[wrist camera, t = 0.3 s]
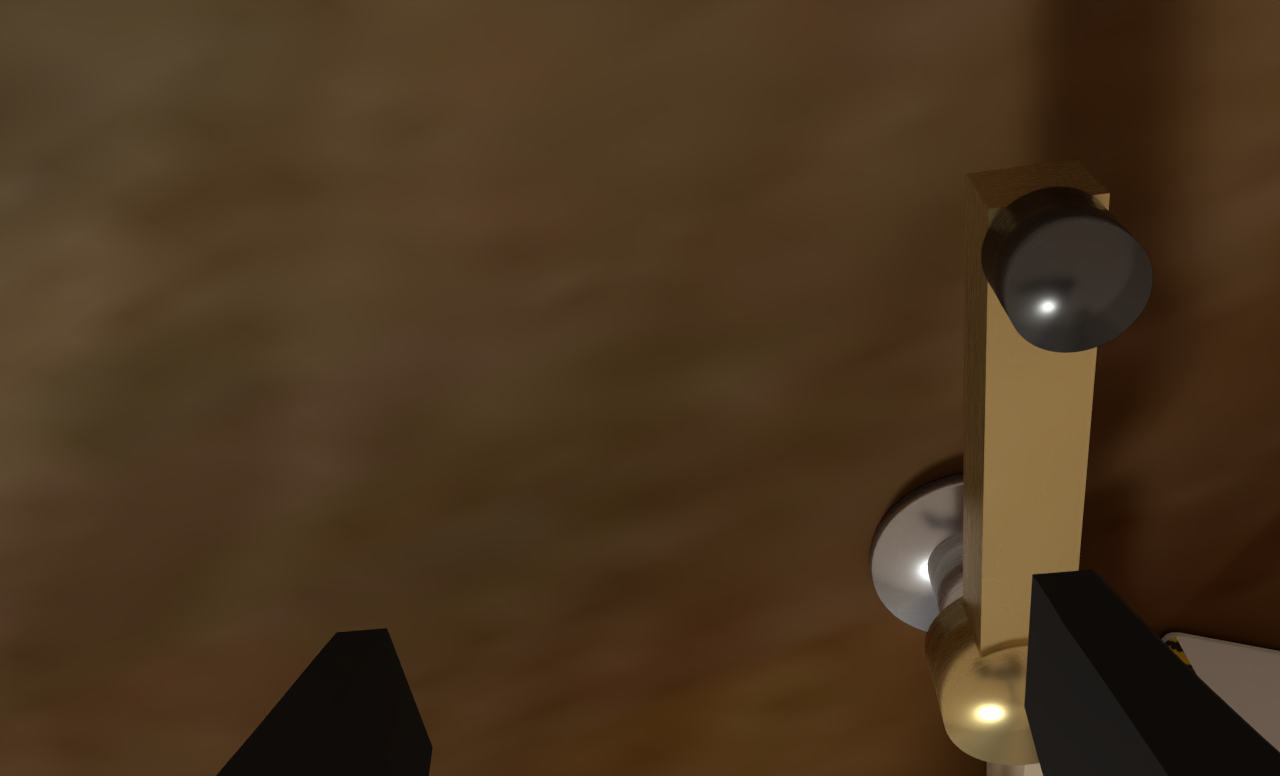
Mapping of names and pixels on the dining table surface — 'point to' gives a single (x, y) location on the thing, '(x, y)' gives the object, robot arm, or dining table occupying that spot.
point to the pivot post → (921, 552)
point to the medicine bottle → (1236, 677)
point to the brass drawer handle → (1025, 425)
